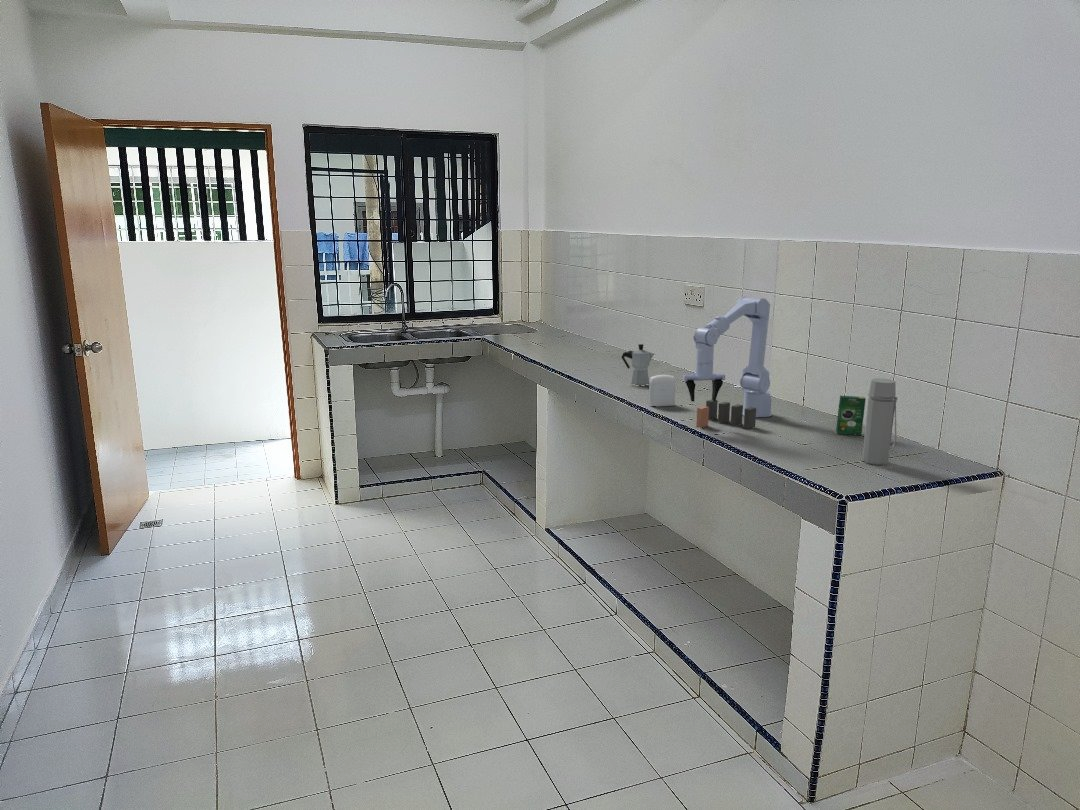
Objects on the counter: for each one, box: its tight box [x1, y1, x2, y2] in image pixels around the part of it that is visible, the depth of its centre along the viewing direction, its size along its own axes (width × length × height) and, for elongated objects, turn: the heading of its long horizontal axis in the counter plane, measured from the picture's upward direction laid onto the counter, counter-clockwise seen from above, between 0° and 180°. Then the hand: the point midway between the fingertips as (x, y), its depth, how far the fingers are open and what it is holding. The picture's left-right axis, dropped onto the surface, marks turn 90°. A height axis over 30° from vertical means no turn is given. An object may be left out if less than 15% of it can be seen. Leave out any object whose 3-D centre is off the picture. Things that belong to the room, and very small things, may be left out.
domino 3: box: [730, 403, 744, 427], centre depth 273 cm, size 2×4×7 cm, turn 130°
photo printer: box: [648, 374, 676, 407], centre depth 301 cm, size 10×4×12 cm, turn 96°
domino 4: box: [743, 407, 757, 430], centre depth 269 cm, size 2×4×7 cm, turn 130°
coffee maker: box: [621, 343, 655, 385], centre depth 340 cm, size 15×9×18 cm, turn 84°
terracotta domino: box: [695, 405, 709, 428], centre depth 271 cm, size 2×4×7 cm, turn 130°
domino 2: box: [717, 401, 731, 424], centre depth 277 cm, size 2×4×7 cm, turn 130°
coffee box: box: [835, 395, 866, 436], centre depth 259 cm, size 8×3×13 cm, turn 77°
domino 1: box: [705, 399, 719, 421], centre depth 281 cm, size 2×4×7 cm, turn 130°
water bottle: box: [862, 378, 898, 466], centre depth 227 cm, size 9×8×25 cm
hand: (703, 400), depth 269 cm, fingers open, 7 cm apart
